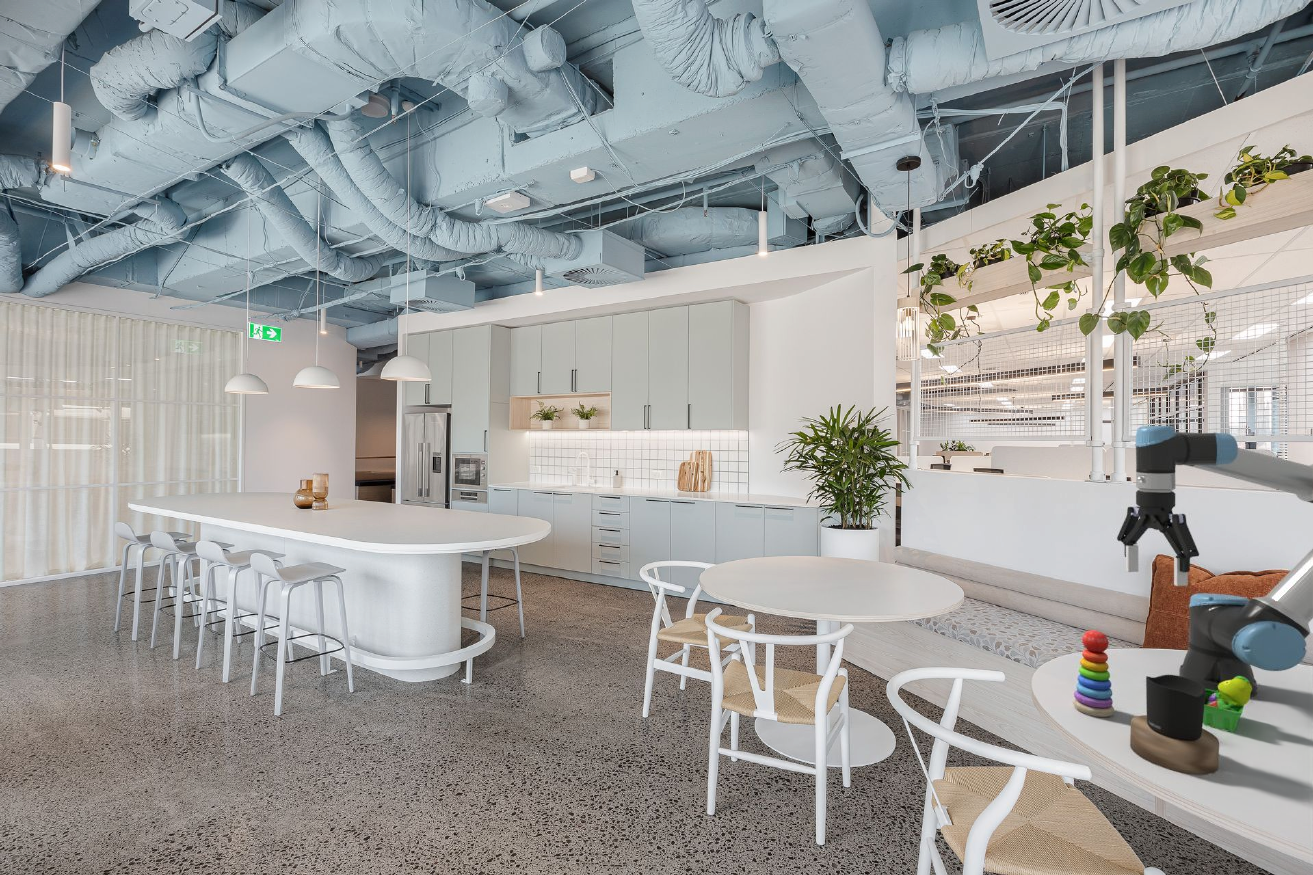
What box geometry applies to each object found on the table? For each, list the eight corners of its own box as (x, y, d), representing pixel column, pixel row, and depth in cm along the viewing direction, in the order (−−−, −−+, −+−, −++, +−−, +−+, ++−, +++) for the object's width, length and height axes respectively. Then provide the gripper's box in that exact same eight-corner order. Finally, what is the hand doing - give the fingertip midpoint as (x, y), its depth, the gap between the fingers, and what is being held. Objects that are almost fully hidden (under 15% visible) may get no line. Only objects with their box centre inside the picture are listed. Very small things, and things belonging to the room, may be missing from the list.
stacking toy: (1120, 720, 148) (1123, 638, 147) (1081, 716, 149) (1083, 635, 148) (1104, 704, 155) (1106, 626, 155) (1067, 701, 157) (1069, 624, 156)
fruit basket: (1201, 708, 153) (1203, 661, 153) (1252, 721, 147) (1254, 672, 147) (1194, 724, 145) (1196, 674, 145) (1248, 739, 139) (1250, 686, 139)
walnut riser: (1177, 737, 140) (1177, 714, 139) (1238, 773, 126) (1239, 748, 125) (1113, 738, 139) (1114, 715, 139) (1167, 775, 125) (1168, 749, 125)
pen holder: (1141, 716, 139) (1143, 669, 138) (1198, 727, 134) (1200, 679, 133) (1147, 734, 130) (1149, 685, 130) (1208, 747, 126) (1210, 696, 125)
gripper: (1100, 485, 168) (1100, 567, 169) (1188, 497, 144) (1188, 592, 144) (1127, 484, 169) (1127, 565, 170) (1219, 495, 144) (1219, 590, 145)
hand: (1155, 578), depth 157 cm, fingers open, 13 cm apart
